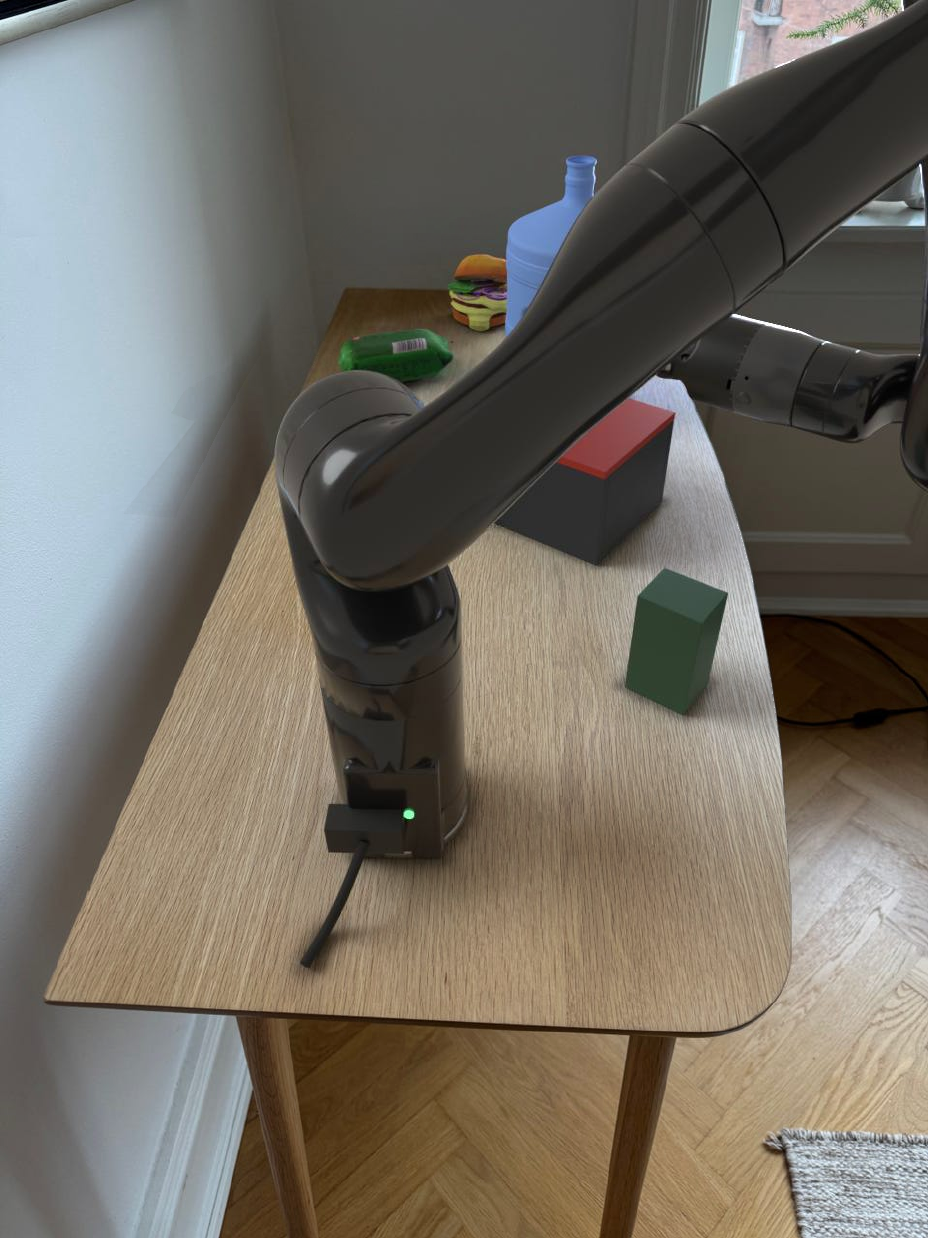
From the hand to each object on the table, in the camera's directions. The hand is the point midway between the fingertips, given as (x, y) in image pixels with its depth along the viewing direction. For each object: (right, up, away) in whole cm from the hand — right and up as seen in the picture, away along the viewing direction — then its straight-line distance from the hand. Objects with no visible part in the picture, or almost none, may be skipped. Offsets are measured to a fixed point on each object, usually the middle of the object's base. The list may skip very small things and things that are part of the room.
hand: (577, 320), depth 84 cm
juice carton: (+7, -33, -7) cm, 34 cm away
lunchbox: (0, -15, +14) cm, 21 cm away
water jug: (+2, 0, +31) cm, 31 cm away
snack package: (-19, +5, +38) cm, 42 cm away
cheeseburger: (-8, +17, +51) cm, 55 cm away
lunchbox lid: (-1, -7, +8) cm, 11 cm away
